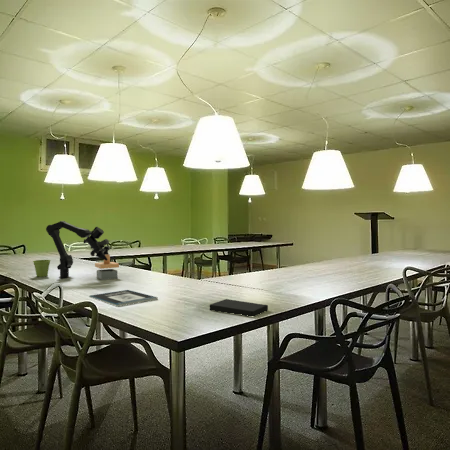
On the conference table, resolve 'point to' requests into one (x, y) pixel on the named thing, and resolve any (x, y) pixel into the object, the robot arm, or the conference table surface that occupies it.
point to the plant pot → (41, 267)
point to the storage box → (107, 274)
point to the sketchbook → (123, 297)
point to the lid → (107, 263)
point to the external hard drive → (239, 307)
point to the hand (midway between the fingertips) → (108, 259)
